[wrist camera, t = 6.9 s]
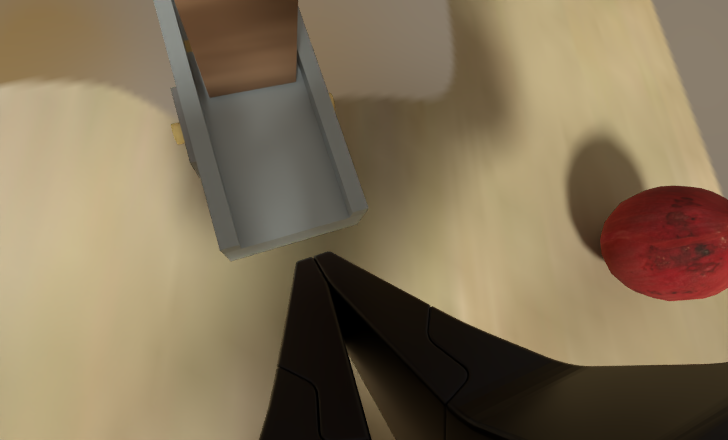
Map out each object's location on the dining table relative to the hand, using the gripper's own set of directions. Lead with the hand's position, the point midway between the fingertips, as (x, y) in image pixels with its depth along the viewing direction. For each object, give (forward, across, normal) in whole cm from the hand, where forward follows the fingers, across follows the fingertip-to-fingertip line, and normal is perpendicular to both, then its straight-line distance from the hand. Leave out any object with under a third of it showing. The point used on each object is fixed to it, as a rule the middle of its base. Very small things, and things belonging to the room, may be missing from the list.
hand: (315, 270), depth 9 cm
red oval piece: (+5, -18, +10) cm, 21 cm away
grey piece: (+14, -1, 0) cm, 14 cm away
